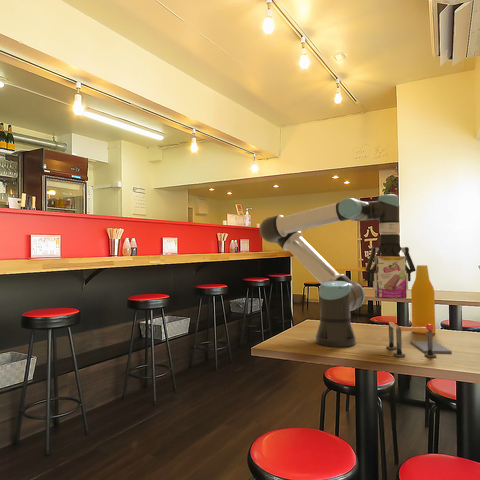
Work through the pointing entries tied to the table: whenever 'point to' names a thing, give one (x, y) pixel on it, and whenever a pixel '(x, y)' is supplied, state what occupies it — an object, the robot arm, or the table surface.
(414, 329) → the bent wire
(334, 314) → the robot arm
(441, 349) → the mat
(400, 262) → the candy bar box
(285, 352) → the table surface
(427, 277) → the beer bottle
